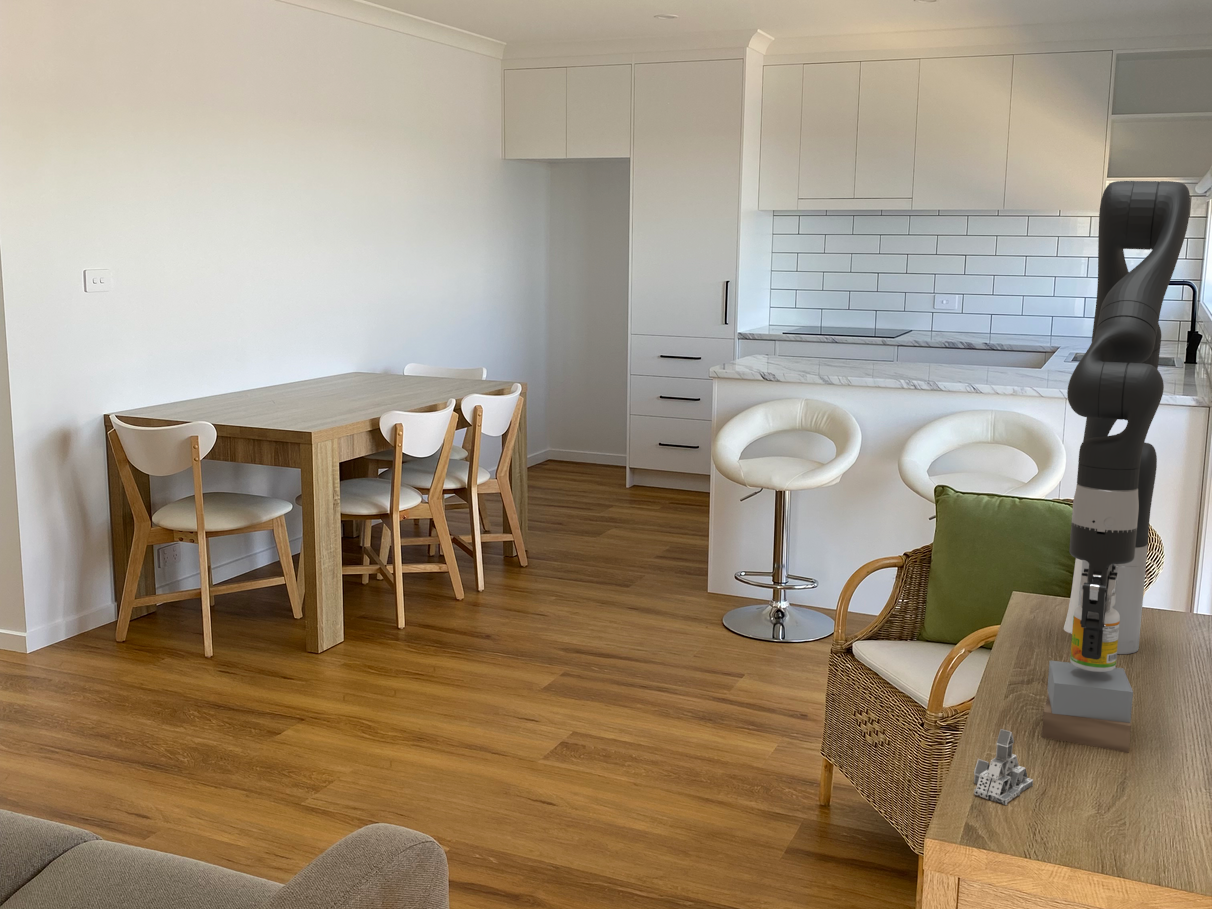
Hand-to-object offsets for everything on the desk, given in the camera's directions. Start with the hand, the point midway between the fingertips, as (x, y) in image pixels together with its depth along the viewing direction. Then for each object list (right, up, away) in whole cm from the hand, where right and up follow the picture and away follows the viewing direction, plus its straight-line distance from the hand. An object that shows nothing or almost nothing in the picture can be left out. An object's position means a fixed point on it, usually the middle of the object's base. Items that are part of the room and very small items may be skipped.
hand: (1093, 650), depth 140 cm
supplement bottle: (0, -2, 0) cm, 2 cm away
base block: (0, -11, +2) cm, 11 cm away
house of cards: (-18, -13, -14) cm, 27 cm away
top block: (0, -7, +1) cm, 7 cm away
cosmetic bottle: (+18, -5, +44) cm, 47 cm away
